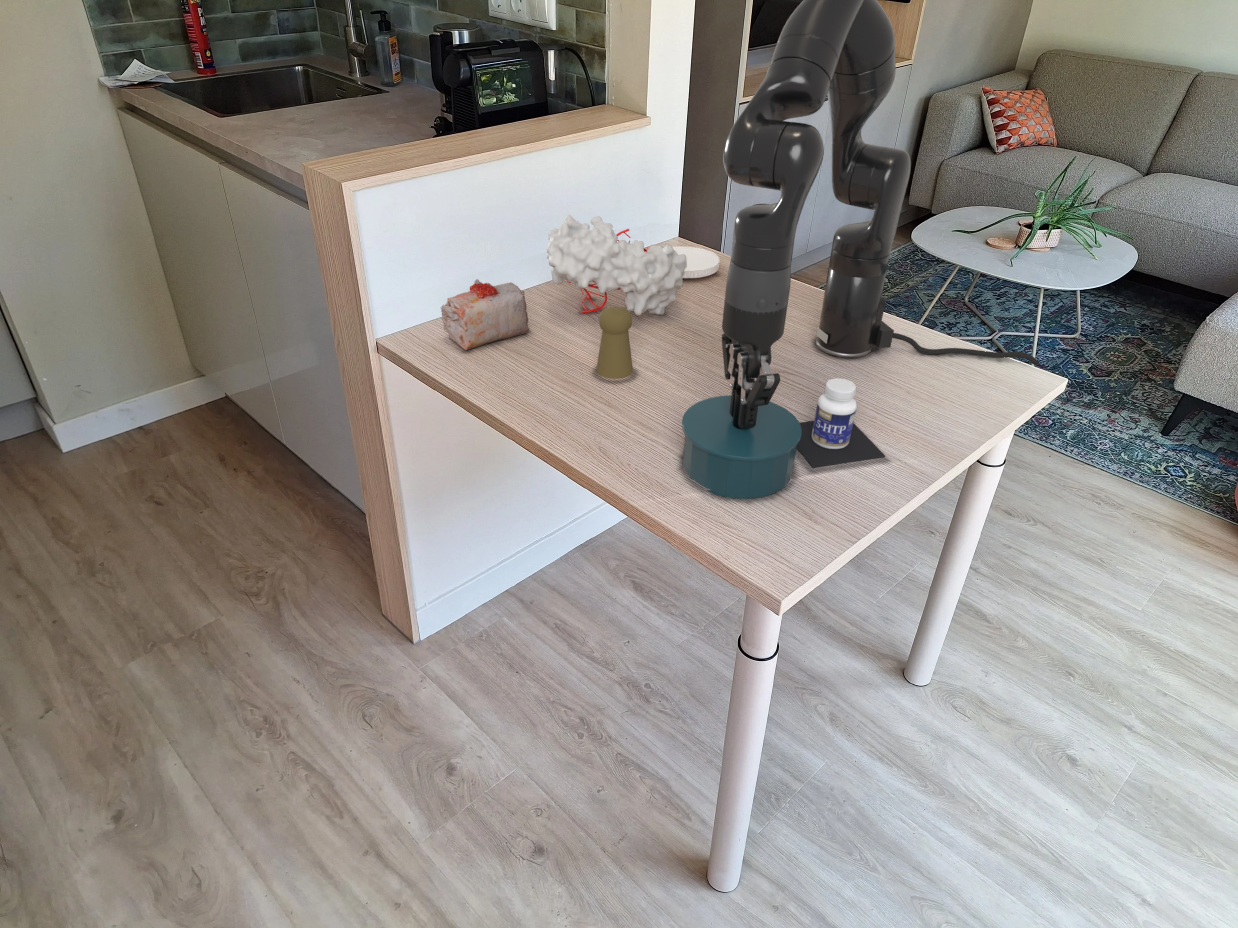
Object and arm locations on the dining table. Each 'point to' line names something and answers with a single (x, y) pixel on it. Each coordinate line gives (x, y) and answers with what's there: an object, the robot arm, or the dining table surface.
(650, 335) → the dining table surface
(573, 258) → the molecular structure model
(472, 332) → the food item
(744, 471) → the pot
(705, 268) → the plastic lid
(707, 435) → the pot lid
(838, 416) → the pill bottle
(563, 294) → the dining table surface
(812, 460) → the plate
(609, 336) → the olive game pawn
